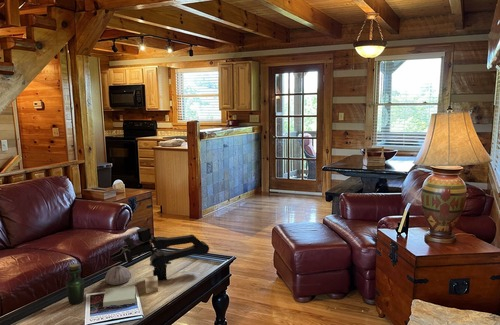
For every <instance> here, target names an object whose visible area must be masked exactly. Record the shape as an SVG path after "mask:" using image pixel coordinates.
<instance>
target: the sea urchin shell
mask: <svg viewBox="0 0 500 325" xmlns="http://www.w3.org/2000/svg"><path fill="white" fill-rule="evenodd" d="M131 278H132V273H131V271H130V270H129V269H128V268H126V267H124V266H122V265H117V266H113V267H111V268H110V269H109V270H108V271H107V272H106V275H105V277H104V279H105V280H104V281H105V282H106V283H107V284H108V285H111V286H117V285H122V284H125V283H127V282H128V281H130V279H131Z"/></svg>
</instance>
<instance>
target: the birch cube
mask: <svg viewBox="0 0 500 325" xmlns="http://www.w3.org/2000/svg"><path fill="white" fill-rule="evenodd" d="M144 280H145V281H144V282H145V283H144V284H145V294H147V293H148V294H149V293H156V292H157V293H158V292H159V281H158V278H157V276H153V275H152V276H145V278H144Z"/></svg>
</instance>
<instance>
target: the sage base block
mask: <svg viewBox="0 0 500 325" xmlns="http://www.w3.org/2000/svg"><path fill="white" fill-rule="evenodd" d="M103 295H104V296H103V301H102V305H103V306H102V307H104V306H109V305H123V304H132V303H135V304H136V286H135V285H132V286H124V287H115V288H107V289H106V288H105V291H104V294H103Z"/></svg>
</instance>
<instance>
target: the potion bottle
mask: <svg viewBox="0 0 500 325" xmlns="http://www.w3.org/2000/svg"><path fill="white" fill-rule="evenodd" d="M69 268H70V269H69V270H68V271H67V274H68V275H70V279H68V280H67V281H66V283H65V288H66V292H67V294H66V295H67V301H68V304H70V305H78V304H81V303H83V302H84V300H85V279H84V278H82V277H80V276H79V275H80V273H82V269H81V268H80V267H79V263H71V264H70V265H69Z"/></svg>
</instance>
